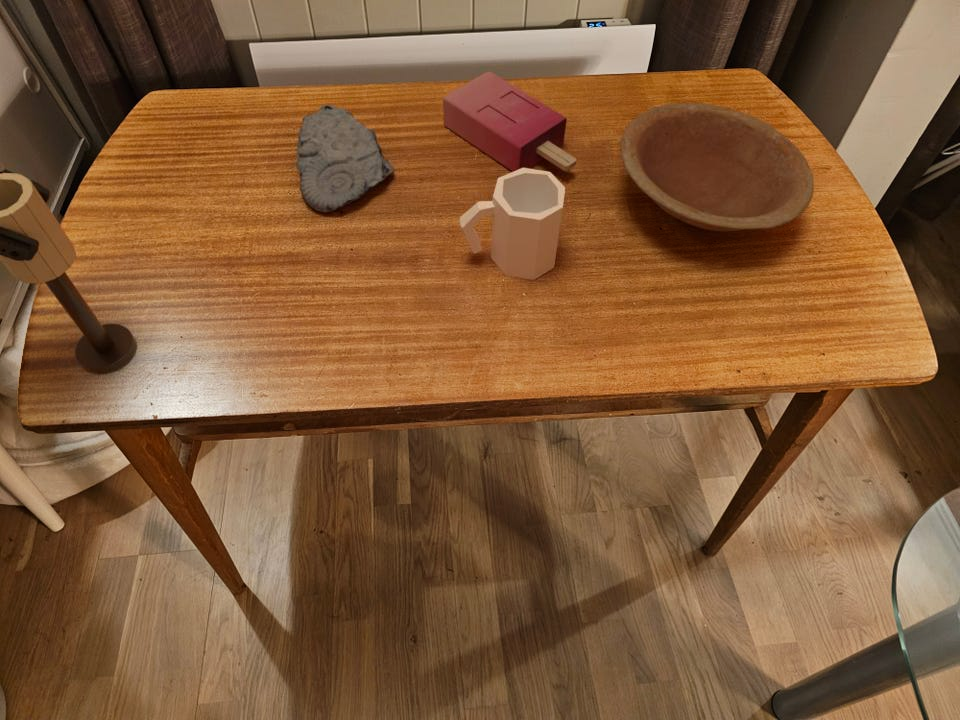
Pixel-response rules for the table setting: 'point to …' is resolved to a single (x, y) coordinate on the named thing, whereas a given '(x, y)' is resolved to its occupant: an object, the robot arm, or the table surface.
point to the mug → (521, 222)
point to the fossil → (337, 159)
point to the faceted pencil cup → (33, 231)
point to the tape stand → (94, 332)
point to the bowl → (716, 167)
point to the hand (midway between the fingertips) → (40, 225)
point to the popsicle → (507, 123)
